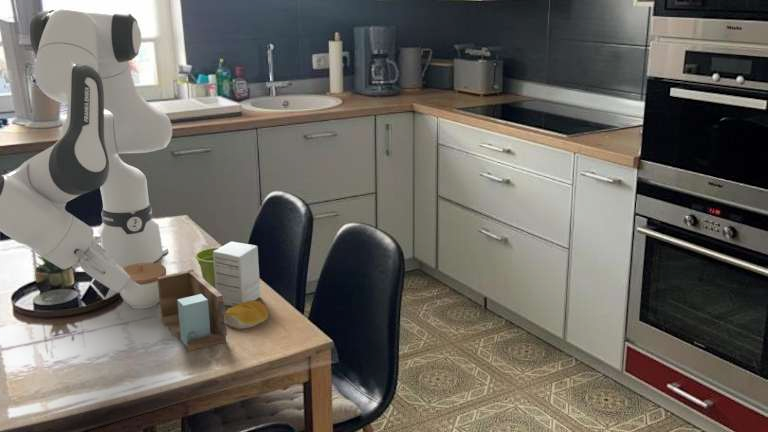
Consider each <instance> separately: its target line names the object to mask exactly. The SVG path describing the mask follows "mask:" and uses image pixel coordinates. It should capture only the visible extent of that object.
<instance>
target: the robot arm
mask: <svg viewBox="0 0 768 432" xmlns="http://www.w3.org/2000/svg"><path fill="white" fill-rule="evenodd" d="M28 33H29V41H30V45H31V48H32V50H33V52H34V53H35V54H36V57H35V65H34V76H35V77H34V78H35V83H36V85H37V87H38V89H39V90H40V91H41V92H42V93H43V94H44V95H45V96H47V97H48V98H50V99H51V100H53V101H55V102H58V103H61V104H65V105H66V106H67V108H66V118H65V119H64V121H63V124H62V126H61V137H60V138H59V139H58V140H57V141H56V142H55V143H54V144H53V145H51V146H50V147H48V148H46V149H45V150H43V151H41V152H39V153H37V154H35V155H34V156H32V157H31V158H29V159H27V160H25V161H24V162H23V163H22V164H20V166H19V167H17V168H15V169H14V170H12V171H10V172H7V173H5V174H0V232H1V233H2V234H4V235H5V236H7V237H9V238H10V239H11V240H13V241H15V242H17V243H19V244H21V245H25V246H27V247H29V248H31V249H32V250H33V251H34V252H35V254H36V255H38V256H40V257H41V258H42V259H45V260H46V261H47V262H49V263H51V264H53V265H54V266H56V267H58V268H60V269H61V270H67V269H69V268H71V267H72V268H74V269H77V268H81V269H82V270H83V272H85V273H86V274H87V275H88V276H90V277H91V278H92V279H94V280H96V282H99V283H100V284H102V285H103V286H105V287H106V288H108V289H109V290H111V291H112V292H114V293H117V294H120V292H121V291H122V290H123V289H124V290H127V291H130V292H131V293H133V294H135V295H136V294H138V293H139V291H140V290H141V286H140V285H139V284H137V283H136V282H134V281H133V280H131V279H130V276H129V275H128V274H127V273H126V271H125V270H124V269H123V267H126V266H129V265H133V264H138V263H155V262H157V261H158V260H159V259H161V257H162V256H163V255H166V254H167V253H168V252H169V250H168V247H167V246H166V245H165V246H164V245H163V243H162V237H161V232H160V226H159V223H158V222H156V221H155V220H153V211H152V210H153V209H152V204H151V203H150V201H149V191H148V182H147V177H146V175H145V173H143V172H142V171H141V170H140V169H139V168H138V167H135V166H134V165H133V166H132V165H130V164H128V163H125V162H124V161H123V160H122V159H121V157H120V156H119V155H120V154H122V155H123V154H139V153H140V154H144V153H150V152H156V151H158V150H163V149H166V148H167V146H168V145H169V144H170V141H171V140H172V136H173V125H172V122H171V120H170V118H169V116H168V115H167V114H166V113H165V112H164V111H163V110H162V109H159V108H157V107H155V106H153V105H152V104H150V103H149V102H147V101H146V100H145V99H144V98H143V96H142V95H141V94H140V92H139V91H138V90H137V88H136V84H135V83H134V79H133V74H132V71H131V65H130V61H132V60H134V59H135V58H136V57H137V56H138V55H139V52H140V47H141V46H142V33H141V29H140V26H139V23H138V21H137V19H136V18H135V17H134V16H133V15H132V14H131V13H128V12H125V11H121V10H115V11H111V10H104V9H93V8H83V9H79V8H78V9H77V8H74V7H73V8H72V7H64V8H60V9H57V10H54V9H49V10H44V11H39V12H38V13H36V14H35V15H34V16H33V17H32V19H31V20H30V24H29V31H28ZM98 189H100V195H101V200H102V208H101V221H102V223H101V225H100V226H99V228H98V233H97V234H94V233H95V232H94V229H93V228H92V227H91V226H89V225H88V224H86V223H85V222H84V221H82V220H80V219H79V218H78V217H76V216H75V215H73V214H71V213H70V212H69V211H67V210H66V205H67V203H68V202H70V201H71V200H73V199H76V198H78V197H80V196H82V195H84V194H88V193H90V192H93V191H96V190H98Z"/></svg>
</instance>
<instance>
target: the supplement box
mask: <svg viewBox="0 0 768 432" xmlns="http://www.w3.org/2000/svg"><path fill="white" fill-rule="evenodd" d="M219 247H220V246H219ZM258 248H259V247H258V245H255V244H250V243H249V244H248V243H243V242H236V241H229V242H228V243H226V244H224V245H222V246H221V247H220V248H219V249H217V250H215V251H213V262H214V276H215V289H216V290H217V291H218V292H219V293H221V294H222V295H223V302H224V303H225V306H228V307H234V306H237V305H238V304H240V303H243V302H247V301H257V299H259V298H260V297H261V286H260V284H261V283H260V267H259V249H258Z"/></svg>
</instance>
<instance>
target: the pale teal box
mask: <svg viewBox="0 0 768 432" xmlns="http://www.w3.org/2000/svg"><path fill="white" fill-rule="evenodd" d="M177 302H178V312H179V323H180V333H181V339H180V340H181V342H182V343H183V344H184V345H185V346H186V347H187V342H188V341H191V340H195V339H199V338H202V337H206V336H210V335H212V333H211V332H210V321H209V309H208V300H207V299H206V298H205V297H204V296H203V295H202V294H199V295H194V296H190V297H186V298H182V299H178V300H177Z"/></svg>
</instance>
